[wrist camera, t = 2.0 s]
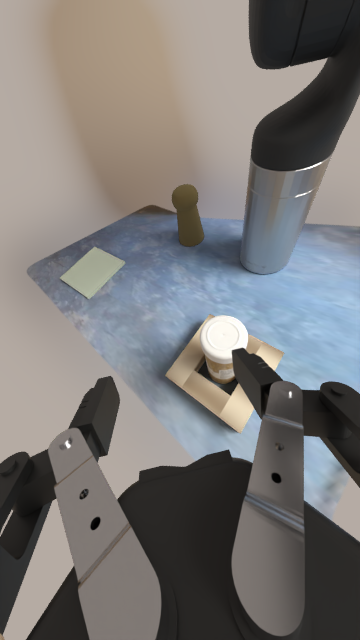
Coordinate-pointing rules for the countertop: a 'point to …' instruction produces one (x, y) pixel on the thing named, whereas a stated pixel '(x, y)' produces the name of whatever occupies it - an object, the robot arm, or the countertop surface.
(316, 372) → the countertop surface
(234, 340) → the sprinkles bottle
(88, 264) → the green pad
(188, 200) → the cork
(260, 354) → the holder block
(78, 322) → the countertop surface
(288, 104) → the robot arm
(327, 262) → the countertop surface
